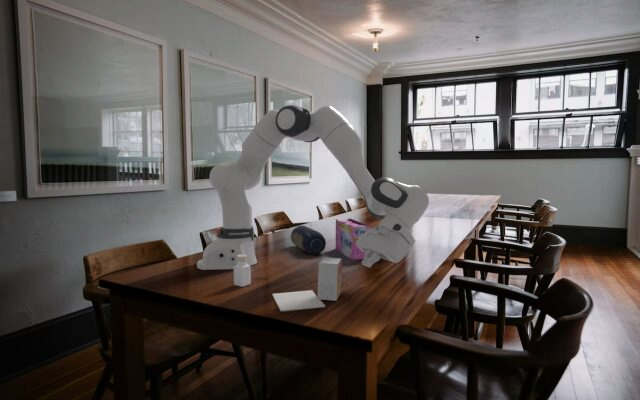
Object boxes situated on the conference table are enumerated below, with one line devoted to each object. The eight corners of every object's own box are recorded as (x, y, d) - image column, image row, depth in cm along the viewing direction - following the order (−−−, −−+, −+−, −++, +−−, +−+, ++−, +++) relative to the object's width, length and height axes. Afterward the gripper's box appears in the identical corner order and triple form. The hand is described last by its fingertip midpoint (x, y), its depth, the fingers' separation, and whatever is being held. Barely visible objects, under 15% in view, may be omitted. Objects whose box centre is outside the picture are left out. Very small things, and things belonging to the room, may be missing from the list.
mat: (280, 311, 104) (280, 310, 104) (272, 294, 117) (272, 293, 117) (325, 306, 107) (325, 305, 107) (311, 291, 120) (311, 290, 120)
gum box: (333, 248, 183) (333, 218, 182) (350, 247, 185) (350, 218, 184) (352, 260, 160) (352, 226, 159) (370, 258, 162) (370, 225, 161)
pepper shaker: (242, 287, 124) (241, 257, 124) (233, 285, 127) (232, 255, 126) (251, 284, 128) (250, 255, 127) (242, 282, 130) (241, 253, 129)
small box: (336, 301, 111) (338, 264, 110) (316, 299, 112) (318, 262, 111) (341, 293, 119) (342, 258, 118) (322, 291, 120) (323, 256, 119)
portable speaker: (288, 246, 189) (288, 225, 188) (308, 244, 192) (308, 223, 191) (305, 257, 165) (305, 233, 164) (328, 255, 169) (328, 231, 168)
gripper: (367, 219, 131) (341, 251, 128) (407, 228, 113) (378, 266, 110) (379, 232, 134) (353, 264, 130) (419, 242, 115) (391, 280, 112)
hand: (365, 265), depth 120 cm, fingers closed
